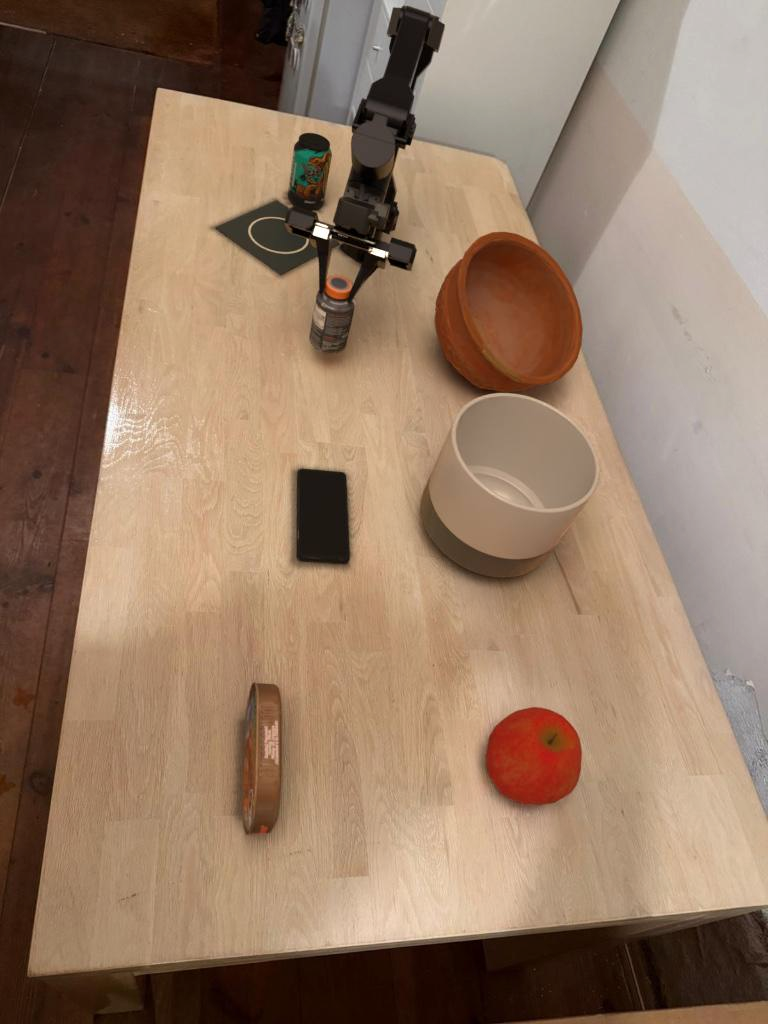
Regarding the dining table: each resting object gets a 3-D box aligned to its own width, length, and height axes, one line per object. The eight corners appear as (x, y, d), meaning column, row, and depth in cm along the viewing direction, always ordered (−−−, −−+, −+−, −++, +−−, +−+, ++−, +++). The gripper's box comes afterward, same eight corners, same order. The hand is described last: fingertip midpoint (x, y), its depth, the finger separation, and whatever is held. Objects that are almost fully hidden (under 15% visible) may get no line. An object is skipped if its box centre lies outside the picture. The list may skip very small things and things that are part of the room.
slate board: (276, 201, 142) (276, 199, 142) (339, 244, 138) (339, 242, 138) (215, 228, 133) (215, 226, 133) (281, 275, 129) (281, 273, 129)
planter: (438, 597, 97) (482, 518, 83) (398, 481, 107) (432, 394, 93) (565, 580, 103) (626, 504, 89) (516, 472, 113) (564, 389, 100)
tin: (245, 700, 83) (251, 668, 76) (273, 700, 84) (282, 669, 77) (241, 844, 74) (247, 822, 67) (272, 843, 75) (282, 821, 68)
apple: (576, 799, 85) (619, 770, 76) (498, 826, 81) (535, 798, 73) (538, 715, 90) (574, 679, 82) (463, 736, 86) (493, 701, 78)
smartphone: (296, 558, 94) (297, 467, 103) (296, 561, 95) (296, 471, 104) (350, 561, 96) (346, 471, 105) (349, 564, 96) (345, 475, 105)
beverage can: (316, 216, 142) (326, 156, 133) (282, 203, 142) (289, 142, 133) (328, 199, 147) (338, 139, 137) (294, 186, 147) (303, 126, 137)
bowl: (383, 354, 117) (437, 316, 105) (437, 244, 127) (492, 197, 115) (496, 440, 126) (559, 415, 114) (538, 331, 136) (600, 296, 124)
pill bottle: (350, 336, 118) (364, 278, 109) (340, 360, 114) (354, 301, 105) (315, 324, 118) (326, 264, 109) (303, 347, 114) (314, 287, 105)
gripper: (296, 149, 96) (263, 268, 98) (433, 193, 97) (398, 310, 99) (304, 175, 107) (274, 282, 109) (427, 216, 108) (395, 320, 110)
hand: (334, 298), depth 107 cm, fingers closed on pill bottle, 4 cm apart
